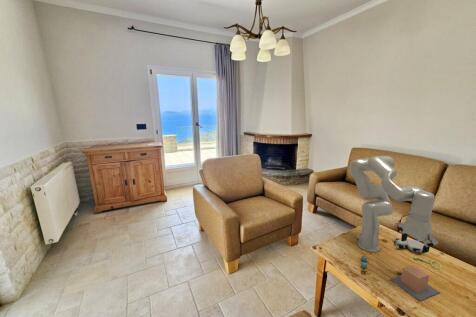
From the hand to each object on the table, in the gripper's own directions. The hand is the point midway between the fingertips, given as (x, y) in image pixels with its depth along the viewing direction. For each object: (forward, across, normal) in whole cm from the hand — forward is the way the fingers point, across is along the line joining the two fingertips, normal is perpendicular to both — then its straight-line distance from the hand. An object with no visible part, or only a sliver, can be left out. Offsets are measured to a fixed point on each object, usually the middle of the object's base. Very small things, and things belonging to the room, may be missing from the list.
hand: (413, 246), depth 104 cm
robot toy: (+21, -18, +28) cm, 39 cm away
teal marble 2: (+20, -14, -15) cm, 29 cm away
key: (+21, -4, +24) cm, 32 cm away
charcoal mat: (+20, +4, -2) cm, 20 cm away
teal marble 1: (+20, -19, -10) cm, 29 cm away
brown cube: (+19, +4, -2) cm, 20 cm away
